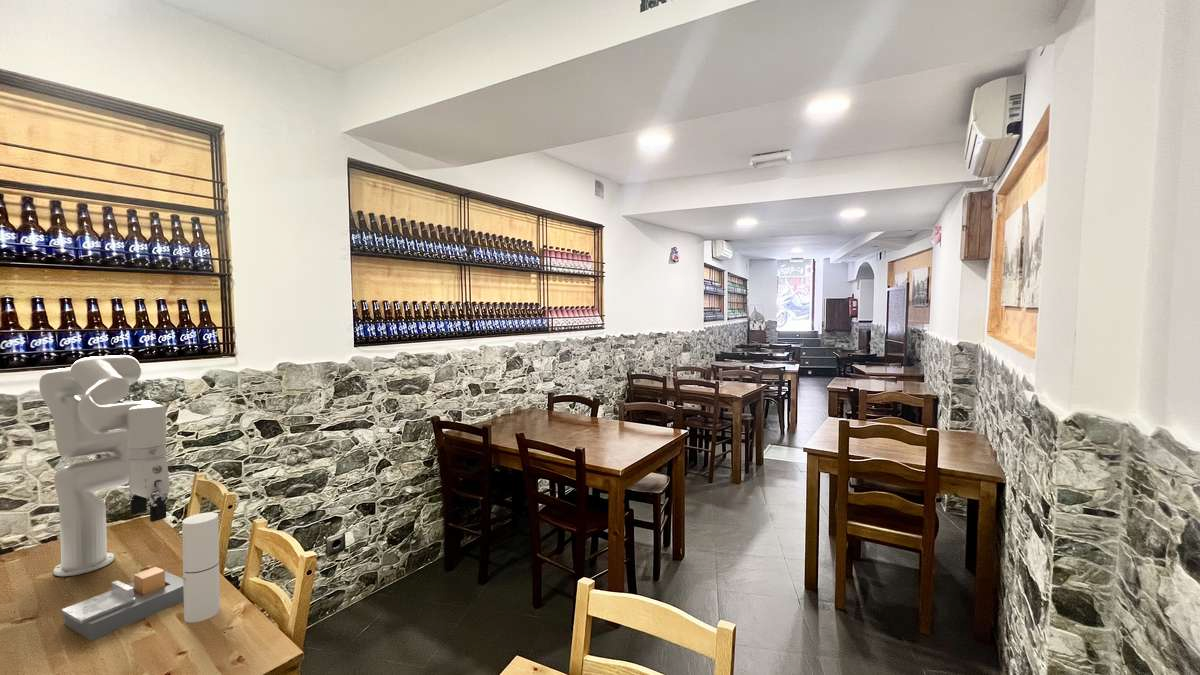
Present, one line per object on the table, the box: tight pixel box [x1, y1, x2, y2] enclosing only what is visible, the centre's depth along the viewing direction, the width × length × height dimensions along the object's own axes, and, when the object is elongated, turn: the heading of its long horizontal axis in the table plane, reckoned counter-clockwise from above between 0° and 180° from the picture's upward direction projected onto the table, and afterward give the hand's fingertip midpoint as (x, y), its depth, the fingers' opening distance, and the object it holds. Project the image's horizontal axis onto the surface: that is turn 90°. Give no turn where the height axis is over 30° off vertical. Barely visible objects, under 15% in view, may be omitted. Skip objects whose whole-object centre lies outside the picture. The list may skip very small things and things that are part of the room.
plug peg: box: [133, 566, 166, 596], centre depth 130 cm, size 5×5×8 cm
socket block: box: [63, 570, 184, 642], centre depth 126 cm, size 14×20×4 cm
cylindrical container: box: [181, 511, 221, 624], centre depth 125 cm, size 7×7×25 cm
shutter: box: [61, 580, 136, 624], centre depth 121 cm, size 10×10×3 cm
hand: (148, 516), depth 129 cm, fingers open, 9 cm apart
